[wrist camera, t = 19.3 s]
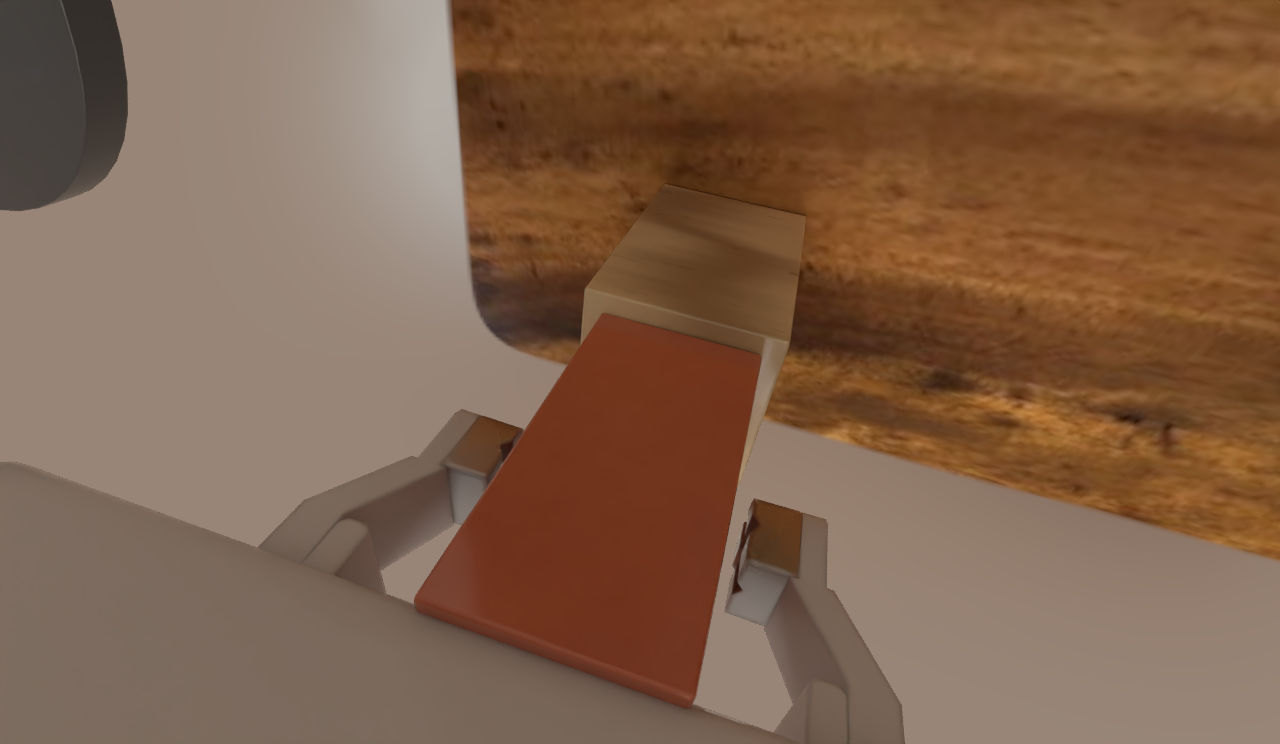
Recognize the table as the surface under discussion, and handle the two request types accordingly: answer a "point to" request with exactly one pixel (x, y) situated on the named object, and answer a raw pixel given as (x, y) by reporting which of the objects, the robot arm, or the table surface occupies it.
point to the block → (610, 513)
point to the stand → (708, 279)
